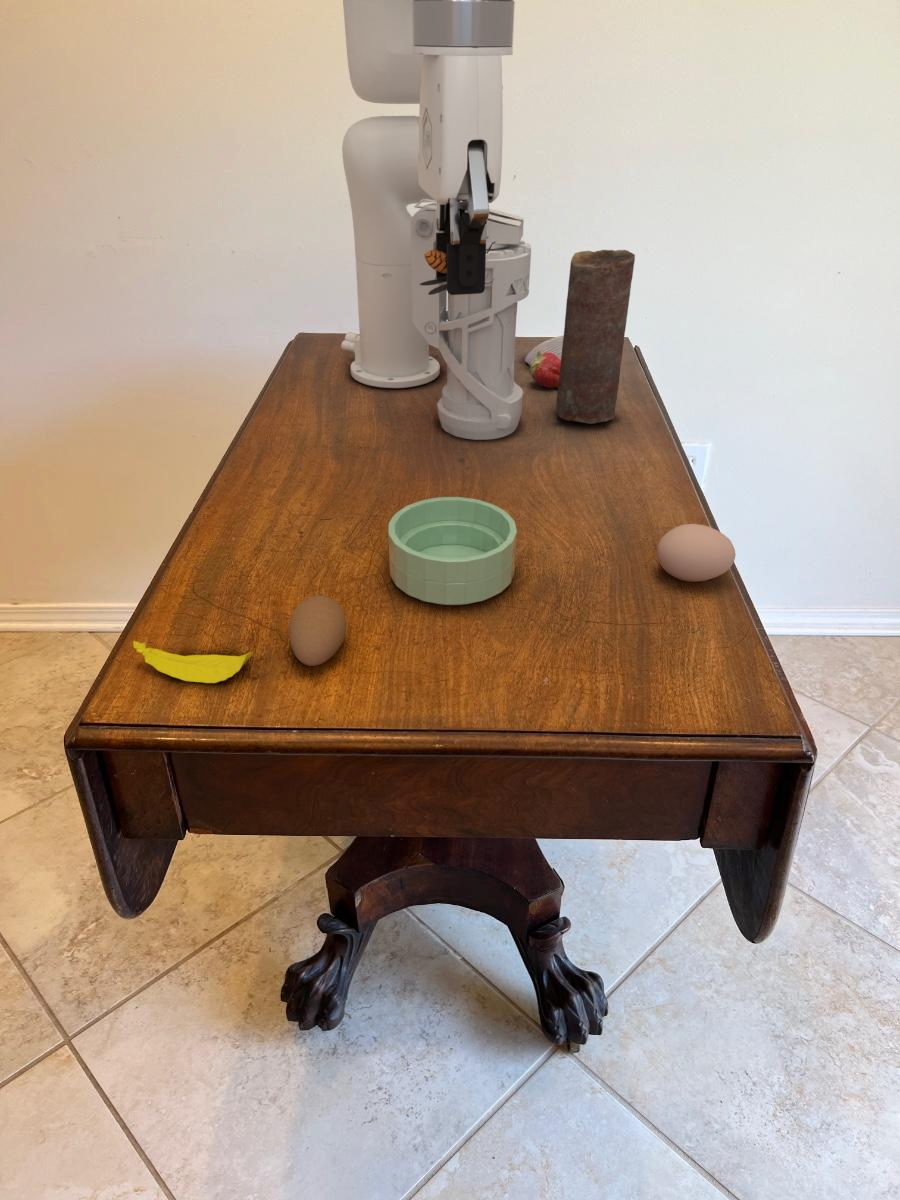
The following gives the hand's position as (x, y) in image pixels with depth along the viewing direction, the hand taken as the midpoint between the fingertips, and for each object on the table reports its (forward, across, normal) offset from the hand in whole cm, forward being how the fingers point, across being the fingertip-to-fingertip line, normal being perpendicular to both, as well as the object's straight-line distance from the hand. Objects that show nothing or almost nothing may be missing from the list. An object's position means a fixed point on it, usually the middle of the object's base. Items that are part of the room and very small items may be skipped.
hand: (459, 284), depth 72 cm
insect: (-5, 0, 0) cm, 5 cm away
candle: (+23, -20, +21) cm, 37 cm away
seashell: (+23, -40, +25) cm, 53 cm away
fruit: (+23, -32, +21) cm, 44 cm away
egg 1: (+19, +17, -15) cm, 30 cm away
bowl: (+23, +11, -3) cm, 25 cm away
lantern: (+23, -22, +7) cm, 32 cm away
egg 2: (+20, +15, +15) cm, 29 cm away
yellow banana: (+21, +17, -25) cm, 37 cm away
